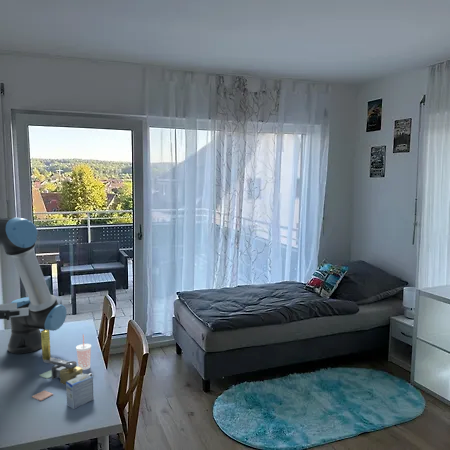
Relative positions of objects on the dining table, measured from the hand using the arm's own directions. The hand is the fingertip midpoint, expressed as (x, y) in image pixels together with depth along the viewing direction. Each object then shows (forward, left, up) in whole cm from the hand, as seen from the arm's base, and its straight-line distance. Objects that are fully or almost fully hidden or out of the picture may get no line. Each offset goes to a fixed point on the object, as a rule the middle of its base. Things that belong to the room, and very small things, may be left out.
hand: (22, 308), depth 157 cm
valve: (+15, +9, -29) cm, 34 cm away
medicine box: (+30, +1, -29) cm, 42 cm away
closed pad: (+15, -4, -29) cm, 33 cm away
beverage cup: (+9, +20, -29) cm, 36 cm away
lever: (+9, +8, -23) cm, 26 cm away
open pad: (+3, +8, -29) cm, 30 cm away
